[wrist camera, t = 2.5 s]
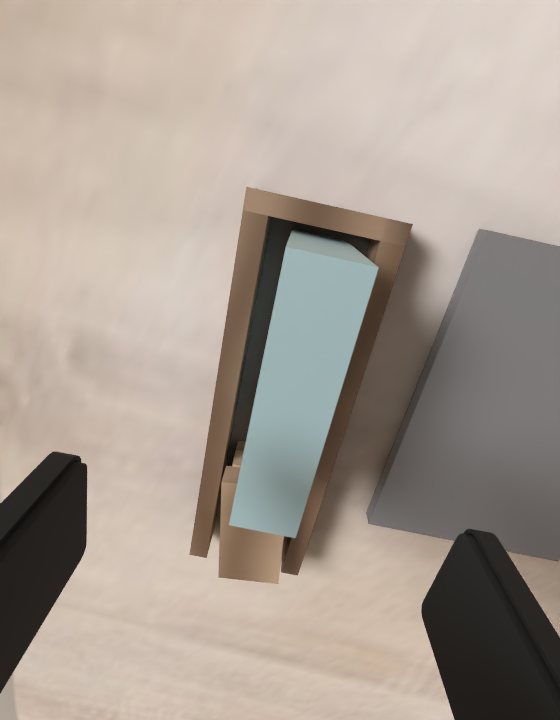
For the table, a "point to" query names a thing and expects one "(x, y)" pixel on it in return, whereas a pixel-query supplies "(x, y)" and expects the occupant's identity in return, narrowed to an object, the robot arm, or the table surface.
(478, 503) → the mat
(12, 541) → the robot arm
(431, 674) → the table surface
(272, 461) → the teal rectangular block
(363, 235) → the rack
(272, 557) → the offcut top
